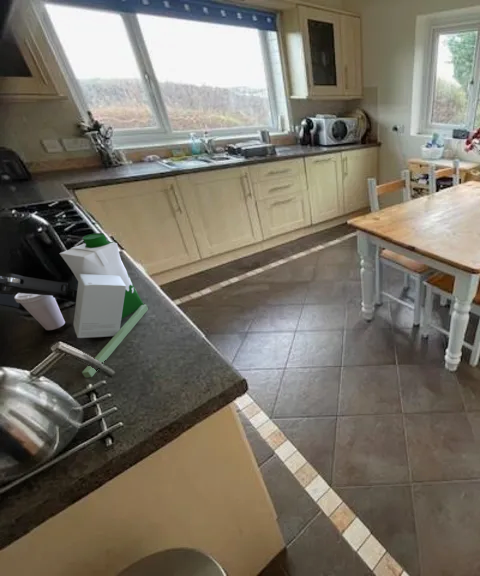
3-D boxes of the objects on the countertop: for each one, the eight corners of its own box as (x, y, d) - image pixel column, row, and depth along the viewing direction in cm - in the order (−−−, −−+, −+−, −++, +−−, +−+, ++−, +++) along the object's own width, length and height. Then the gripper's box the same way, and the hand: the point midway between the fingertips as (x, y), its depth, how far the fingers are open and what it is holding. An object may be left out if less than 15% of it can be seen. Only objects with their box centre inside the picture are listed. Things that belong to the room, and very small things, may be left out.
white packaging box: (119, 336, 76) (127, 286, 74) (76, 338, 71) (82, 284, 68) (113, 322, 81) (120, 274, 78) (72, 324, 75) (78, 272, 73)
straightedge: (85, 378, 65) (81, 372, 64) (143, 309, 86) (141, 304, 85) (91, 377, 65) (88, 371, 65) (148, 309, 86) (146, 304, 85)
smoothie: (34, 327, 79) (-2, 277, 72) (66, 314, 84) (36, 266, 77) (42, 337, 76) (6, 285, 69) (76, 323, 81) (45, 273, 74)
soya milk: (150, 304, 88) (117, 234, 77) (118, 324, 80) (77, 249, 70) (125, 299, 90) (89, 230, 79) (91, 318, 82) (48, 245, 72)
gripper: (-147, 301, 56) (-12, 319, 77) (14, 289, 59) (103, 310, 79) (-135, 260, 58) (-7, 288, 78) (21, 250, 60) (105, 280, 81)
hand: (49, 299), depth 79 cm, fingers open, 13 cm apart
